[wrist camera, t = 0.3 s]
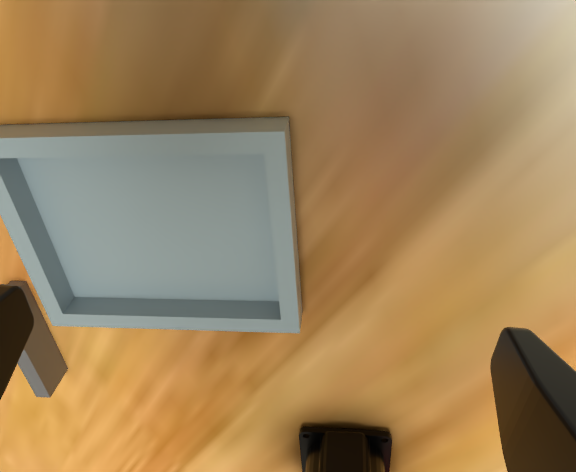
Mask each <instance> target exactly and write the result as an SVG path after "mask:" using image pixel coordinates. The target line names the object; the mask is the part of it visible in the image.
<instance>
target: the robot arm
mask: <svg viewBox="0 0 576 472" xmlns="http://www.w3.org/2000/svg"><path fill="white" fill-rule="evenodd" d="M33 326H34V316H33V313H32V310H31V308H30V305H29V303H28V300H27V297H26V295H25V292H24V290H23V289H22V288H21V287H19V286H16V285H4V284H1V285H0V399H1V397H2V395H3V393H4V391H5V389H6V387H7V385H8V383H9V381H10V378H11V376H12V374H13V372H14V370H15V367H16V365H17V363H18V361H19V359H20V356H21V354H22V352H23V350H24V348H25V345H26V343H27V341H28V339H29V337H30V334H31V332H32V330H33ZM491 376H492V383H493V390H494V397H495V404H496V411H497V418H498V424H499V431H500V438H501V444H502V450H503V455H504V459H505V463H506V467H507V471H508V472H576V371H575V370H574V369H572V368H571V367H570V366H569V365H568V364H567V363H566V362H565V361H564V360H563V359H561V358H560V357H559V356H558V355H557V354H556V353H555V352H554V351H553V350H552V349H551V348H549V347H548V346H547V345H546V344H545V343H544V342H543V341H542V340H541V339H540V338H538V337H537V336H536V335H535V334H534V333H533V332H532V331H530V330H528V329H525V328H513V327H507V328H504V329H503V330H502V332H501V334H500V337H499V339H498V342H497V345H496V347H495V350H494V353H493V356H492V359H491ZM299 440H300V450H301V461H302V472H389V468H390V457H391V446H392V435H391V433H390V432H387V431H375V430H356V429H338V428H320V427H302V428H301V429H300V432H299Z"/></svg>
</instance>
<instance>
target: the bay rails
mask: <svg viewBox="0 0 576 472" xmlns="http://www.w3.org/2000/svg"><path fill="white" fill-rule="evenodd" d="M8 285H16V286H19V287H21V288H22V289H23V290H24V292H25V295H26V297H27V300H28V303H29V305H30V308H31V310H32V313H33V316H34V326H33V330H32V332H31V334H30V337H29V339H28V341H27V343H26V345H25V348H24V350H23V352H22V354H21V356H20V359H19V361H18V365H19V367H20V368H21V370H22V372H23V374H24V376H25V377H26V379H27V381H28V383H29V384H30V386H31V388H32V390H33V392H34V393H35V395H36V397H51V396H52V394H53V392H54V391H55V389H56V387H57V386H58V384H59V382H60V381H61V379H62V378H63V376H64V374H65V373H66V371H67V369H68V367H67V365H66V363H65V361H64V359H63V357H62V355H61V353H60V351H59V348H58V346H57V344H56V342H55V340H54V338H53V336H52V334H51V332H50V330H49V328H48V326H47V324H46V321H45V319H44V317H43V315H42V313H41V311H40V309H39V307H38V305H37V303H36V301H35V299H34V297H33V294H32V292H31V290H30V288H29V286H28V284H27V282H26V281H10V283H9V284H8Z"/></svg>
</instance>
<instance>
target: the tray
mask: <svg viewBox="0 0 576 472" xmlns="http://www.w3.org/2000/svg"><path fill="white" fill-rule="evenodd" d="M0 215H1V217H2V219H3V222H4V224H5V226H6V228H7V230H8V232H9V234H10V236H11V238H12V241H13V243H14V245H15V247H16V249H17V251H18V253H19V255H20V258H21V260H22V262H23V264H24V266H25V268H26V270H27V272H28V274H29V277H30V279H31V281H32V283H33V285H34V287H35V289H36V291H37V293H38V296H39V298H40V300H41V302H42V304H43V306H44V308H45V310H46V313H47V315H48V317H49V319H50V321H51V323H52V325H53V326H76V327H109V328H143V329H176V330H209V331H243V332H276V333H300V328H301V319H302V298H301V284H300V270H299V255H298V241H297V226H296V212H295V197H294V183H293V169H292V154H291V140H290V125H289V117H259V118H223V119H187V120H151V121H115V122H79V123H43V124H7V125H0Z"/></svg>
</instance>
